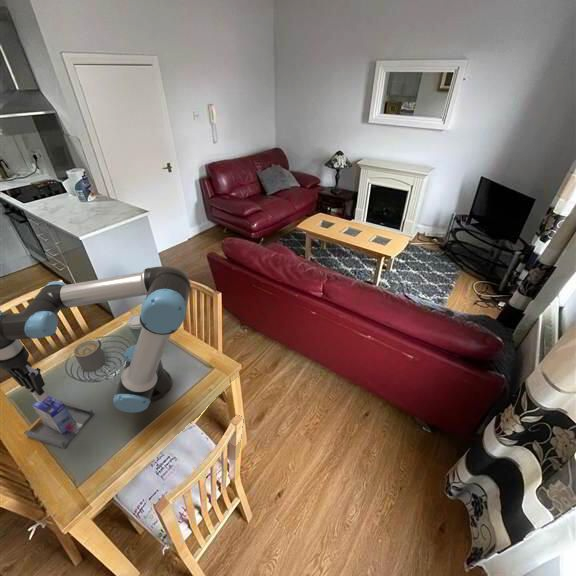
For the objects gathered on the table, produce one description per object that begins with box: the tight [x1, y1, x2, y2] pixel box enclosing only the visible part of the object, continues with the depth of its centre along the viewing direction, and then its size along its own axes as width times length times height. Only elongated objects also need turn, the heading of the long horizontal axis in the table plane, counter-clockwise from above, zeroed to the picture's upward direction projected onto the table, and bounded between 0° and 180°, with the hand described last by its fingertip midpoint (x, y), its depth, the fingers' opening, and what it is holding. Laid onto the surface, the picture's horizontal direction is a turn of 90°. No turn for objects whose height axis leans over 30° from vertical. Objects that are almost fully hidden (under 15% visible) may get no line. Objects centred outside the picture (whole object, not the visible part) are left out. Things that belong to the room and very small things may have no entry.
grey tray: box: [23, 399, 95, 449], centre depth 114 cm, size 16×14×3 cm
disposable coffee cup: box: [126, 312, 142, 343], centre depth 147 cm, size 11×11×15 cm
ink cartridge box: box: [31, 395, 76, 434], centre depth 110 cm, size 10×6×14 cm, turn 67°
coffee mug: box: [72, 338, 107, 373], centre depth 138 cm, size 13×10×10 cm
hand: (42, 398), depth 105 cm, fingers closed
